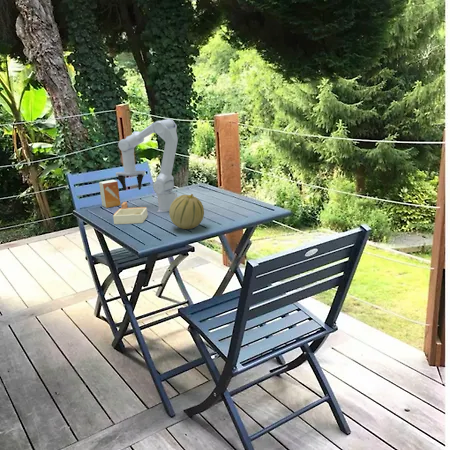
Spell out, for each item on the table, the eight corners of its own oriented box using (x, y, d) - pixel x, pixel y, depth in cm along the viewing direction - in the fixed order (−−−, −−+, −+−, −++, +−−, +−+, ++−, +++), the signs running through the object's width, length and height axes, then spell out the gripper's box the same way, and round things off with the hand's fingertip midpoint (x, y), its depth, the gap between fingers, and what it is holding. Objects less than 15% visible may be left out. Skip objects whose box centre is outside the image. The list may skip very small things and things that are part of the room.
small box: (106, 208, 240) (102, 183, 236) (102, 206, 245) (98, 181, 241) (121, 205, 244) (117, 181, 240) (116, 203, 249) (113, 179, 245)
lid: (146, 209, 234) (145, 199, 232) (141, 216, 223) (139, 205, 221) (120, 210, 235) (118, 200, 233) (113, 217, 224) (112, 206, 222)
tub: (147, 217, 219) (146, 207, 218) (142, 224, 209) (141, 214, 208) (121, 218, 220) (119, 209, 219) (114, 225, 210) (113, 215, 209)
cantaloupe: (169, 225, 205) (165, 192, 200) (201, 221, 208) (199, 188, 203) (173, 235, 191) (169, 200, 186) (208, 231, 194) (205, 196, 189)
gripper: (112, 165, 228) (116, 192, 232) (141, 163, 226) (144, 190, 231) (116, 162, 234) (120, 188, 238) (144, 161, 233) (147, 187, 237)
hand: (132, 189), depth 235 cm, fingers open, 7 cm apart
